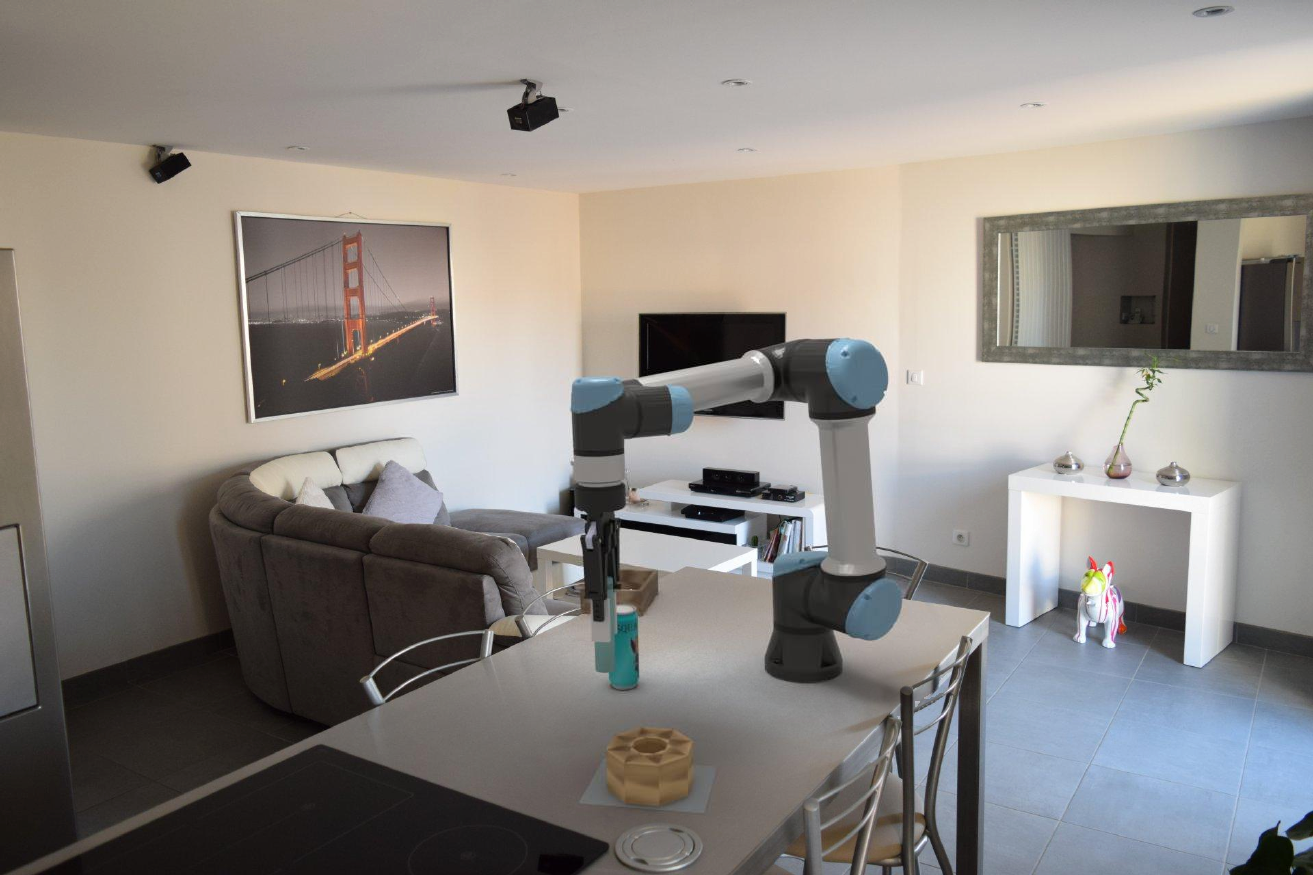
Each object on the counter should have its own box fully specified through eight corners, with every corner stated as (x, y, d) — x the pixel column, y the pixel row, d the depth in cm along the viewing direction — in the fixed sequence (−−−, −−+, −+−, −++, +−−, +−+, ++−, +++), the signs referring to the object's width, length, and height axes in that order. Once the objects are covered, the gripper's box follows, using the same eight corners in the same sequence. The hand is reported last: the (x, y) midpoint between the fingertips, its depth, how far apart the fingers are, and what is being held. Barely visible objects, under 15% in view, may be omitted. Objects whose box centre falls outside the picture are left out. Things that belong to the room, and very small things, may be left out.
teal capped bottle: (618, 665, 141) (615, 576, 140) (612, 673, 138) (609, 581, 137) (598, 664, 142) (595, 575, 140) (592, 672, 139) (589, 580, 137)
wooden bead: (697, 768, 142) (696, 730, 141) (684, 808, 130) (683, 767, 130) (620, 762, 144) (619, 725, 144) (600, 801, 133) (599, 761, 132)
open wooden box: (658, 593, 237) (657, 570, 236) (642, 616, 218) (641, 591, 218) (601, 591, 240) (600, 568, 239) (580, 613, 221) (579, 589, 221)
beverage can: (635, 691, 173) (633, 613, 171) (605, 690, 174) (603, 612, 173) (642, 680, 179) (640, 604, 177) (613, 678, 180) (611, 603, 178)
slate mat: (717, 768, 142) (717, 766, 142) (704, 816, 129) (704, 813, 129) (603, 760, 146) (603, 758, 146) (578, 805, 132) (578, 803, 132)
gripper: (591, 473, 145) (595, 619, 148) (557, 491, 130) (563, 654, 133) (637, 473, 144) (641, 621, 147) (609, 492, 128) (614, 657, 131)
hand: (604, 636), depth 140 cm, fingers closed on teal capped bottle, 3 cm apart
